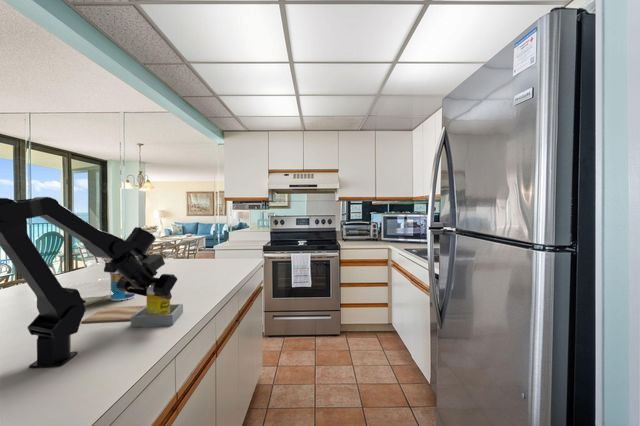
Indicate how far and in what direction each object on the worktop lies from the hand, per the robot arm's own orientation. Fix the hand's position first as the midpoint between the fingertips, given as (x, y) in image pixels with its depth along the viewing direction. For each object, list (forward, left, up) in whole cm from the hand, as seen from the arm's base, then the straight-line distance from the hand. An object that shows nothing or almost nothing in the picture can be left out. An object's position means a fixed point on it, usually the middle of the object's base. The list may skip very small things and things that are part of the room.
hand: (162, 297), depth 103 cm
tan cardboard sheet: (+6, +16, -7) cm, 18 cm away
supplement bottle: (-1, +1, -7) cm, 7 cm away
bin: (-1, +1, -7) cm, 7 cm away
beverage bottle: (+27, +23, -7) cm, 36 cm away
